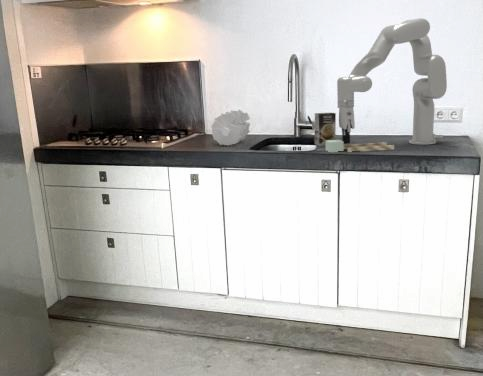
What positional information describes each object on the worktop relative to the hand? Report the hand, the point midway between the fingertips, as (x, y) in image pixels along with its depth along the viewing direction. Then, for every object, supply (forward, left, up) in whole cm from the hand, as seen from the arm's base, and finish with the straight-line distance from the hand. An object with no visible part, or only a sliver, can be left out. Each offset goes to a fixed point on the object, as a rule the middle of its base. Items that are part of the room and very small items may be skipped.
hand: (346, 143), depth 241 cm
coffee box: (+4, -21, -4) cm, 22 cm away
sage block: (+6, 0, -4) cm, 7 cm away
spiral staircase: (+50, -43, -4) cm, 66 cm away
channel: (-11, 0, -3) cm, 11 cm away
